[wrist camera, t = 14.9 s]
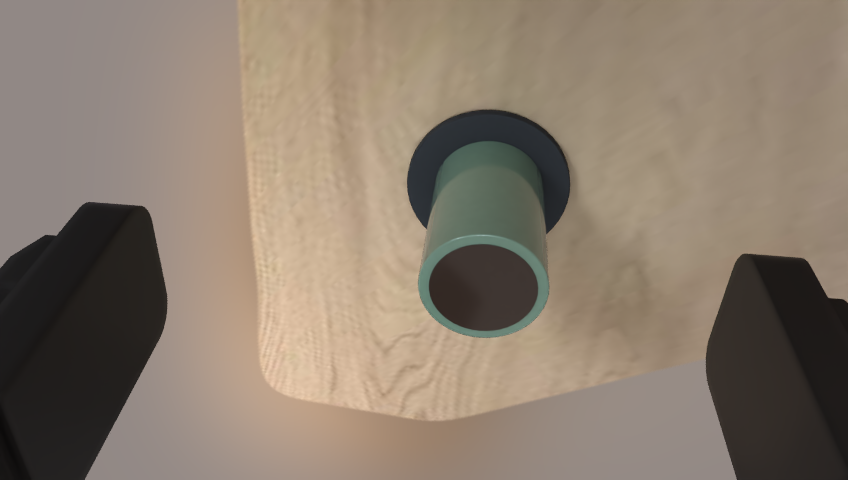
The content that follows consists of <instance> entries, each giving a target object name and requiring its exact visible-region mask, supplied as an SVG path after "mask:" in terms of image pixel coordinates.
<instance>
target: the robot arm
mask: <svg viewBox="0 0 848 480" xmlns="http://www.w3.org/2000/svg"><path fill="white" fill-rule="evenodd" d="M166 314H167V293H166V287H165V282H164V277H163V272H162V267H161V262H160V258H159V253H158V248H157V243H156V238H155V233H154V229H153V224H152V219H151V216H150V214H149V212H148V210H147V209H146V208H145V207H143V206H135V205H121V204H108V203H95V202H88V203H85V204H83V205H82V206H81V207H80V208H79V209H78V210H77V212H76V213H75V214H74V215H73V217H72V218H71V219H70V220H69V221H68V223H67V224H66V225H65V226H64V227H63V229H62V230H61V231H60V232H59V234H58V235H57V236H53V235H45V236H43V237H42V238H40V239H38V240H37V241H35V242H33V243H32V244H30V245H29V246H27V247H25V248H24V249H22V250H20V251H19V252H17V253H16V254H14V255H12V256H11V257H10V258H9V259H8V260H7V261H6V263H5V264H4V265H3V266H2V267H1V268H0V480H85V478H86V476H87V474H88V472H89V470H90V468H91V466H92V464H93V462H94V461H95V459H96V457H97V455H98V453H99V451H100V450H101V448H102V446H103V444H104V442H105V440H106V438H107V436H108V434H109V432H110V431H111V429H112V427H113V425H114V423H115V421H116V420H117V418H118V416H119V414H120V412H121V410H122V408H123V406H124V405H125V403H126V400H127V399H128V397H129V395H130V393H131V391H132V389H133V388H134V385H135V384H136V382H137V380H138V378H139V376H140V374H141V372H142V370H143V369H144V367H145V365H146V363H147V361H148V359H149V358H150V356H151V354H152V352H153V350H154V348H155V346H156V344H157V342H158V341H159V339H160V337H161V334H162V332H163V329H164V325H165V321H166ZM706 374H707V381H708V385H709V389H710V392H711V396H712V399H713V402H714V405H715V409H716V412H717V415H718V418H719V422H720V425H721V428H722V432H723V435H724V438H725V442H726V445H727V448H728V452H729V455H730V458H731V461H732V465H733V468H734V471H735V474H736V477H737V480H848V303H847V302H846V301H845V300H844V299H833V298H828V297H827V295H826V293H825V292H824V290H823V288H822V286H821V284H820V283H819V281H818V279H817V277H816V275H815V273H814V272H813V270H812V268H811V266H810V265H809V263H808V262H807V261H806V260H805V259H803V258H795V257H782V256H769V255H756V254H742V255H741V256H740V257H739V258H738V259H737V261H736V263H735V265H734V268H733V270H732V273H731V276H730V279H729V282H728V285H727V288H726V291H725V294H724V297H723V300H722V302H721V305H720V308H719V311H718V314H717V317H716V320H715V323H714V326H713V329H712V332H711V335H710V338H709V341H708V346H707V353H706Z"/></svg>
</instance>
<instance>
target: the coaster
mask: <svg viewBox="0 0 848 480" xmlns="http://www.w3.org/2000/svg"><path fill="white" fill-rule="evenodd" d="M482 141H495V142H502V143H506V144H509V145H511V146H514V147H516V148H518V149H520V150H521V151H523V152H524V153H525V154H527V155H528V156H529V157H530V158H531V159H532V160H533V162H534V163H535V164H536V166H537V167H538V169H539V171H540V173H541V176H542V180H543V188H544V205H545V222H546V234H547V233H548V232H549V231H550V230H551V229H552V228H553V227H554V226H555V224H556V223H557V222H558V221H559V219H560V217H561V216H562V214H563V212H564V210H565V207H566V205H567V202H568V198H569V192H570V177H569V170H568V165H567V162H566V159H565V157H564V154H563V152H562V150H561V149H560V147H559V145H558V144H557V143H556V141H555V140H554V139H553V138H552V136H551V135H550V134H548V133H547V132H546V131H545V130H544V129H543V128H541V127H540V126H539V125H537V124H536V123H534V122H532V121H530V120H529V119H527V118H524V117H522V116H519V115H517V114H513V113H509V112H505V111H497V110H480V111H471V112H467V113H463V114H460V115H457V116H455V117H452V118H450V119H448V120H446V121H444V122H442V123H441V124H439V125H438V126H436V127H435V128H434V129H432V130H431V131H430V132H429V133H428V134H427V135H426V136H425V137H424V139H423V140H422V141H421V142H420V144H419V145H418V147H417V149H416V150H415V152H414V155H413V157H412V159H411V163H410V167H409V171H408V179H407V188H408V195H409V200H410V203H411V206H412V208H413V210H414V212H415V214H416V216H417V218H418V219H419V220H420V222H421V223H422V224H423V226H424V227H425V228H426V229H427V226H428V220H429V214H430V208H431V202H432V197H433V191H434V185H435V179H436V176H437V173H438V170H439V168H440V167H441V165H442V163H443V162H444V161H445V160H446V158H447V157H449V156H450V155H451V154H452V153H453V152H455V151H456V150H458V149H459V148H461V147H463V146H466V145H468V144H471V143H476V142H482Z"/></svg>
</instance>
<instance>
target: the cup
mask: <svg viewBox="0 0 848 480" xmlns="http://www.w3.org/2000/svg"><path fill="white" fill-rule="evenodd" d="M418 290H419V294H420V298H421V300H422V303H423V304H424V306H425V308H426V310H427V311H428V312H429V313H430V315H431V316H432V317H433V318H434V319H435V320H436V321H438V322H439V323H440V324H442V325H443V326H445V327H447V328H448V329H450V330H452V331H455V332H457V333H460V334H463V335H467V336H472V337H479V338H491V337H499V336H505V335H508V334H511V333H514V332H516V331H519V330H521V329H522V328H524V327H526V326H527V325H529V324H530V323H531V322H532V321H534V320H535V319H536V318H537V317H538V315H539V314H540V313H541V311H542V310H543V308H544V307H545V304H546V302H547V299H548V295H549V272H548V255H547V238H546V222H545V205H544V188H543V180H542V176H541V173H540V171H539V169H538V167H537V166H536V164H535V163H534V162H533V160H532V159H531V158H530V157H529V156H528V155H527V154H525V153H524V152H523V151H521V150H520V149H518V148H516V147H514V146H511V145H509V144H506V143H502V142H495V141H482V142H476V143H471V144H468V145H466V146H463V147H461V148H459V149H458V150H456V151H455V152H453V153H452V154H451V155H450V156H449V157H447V158H446V160H445V161H444V162H443V163H442V165H441V167H440V168H439V170H438V173H437V176H436V179H435V185H434V191H433V197H432V202H431V208H430V214H429V220H428V226H427V231H426V237H425V243H424V249H423V255H422V260H421V266H420V272H419V279H418Z"/></svg>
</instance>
